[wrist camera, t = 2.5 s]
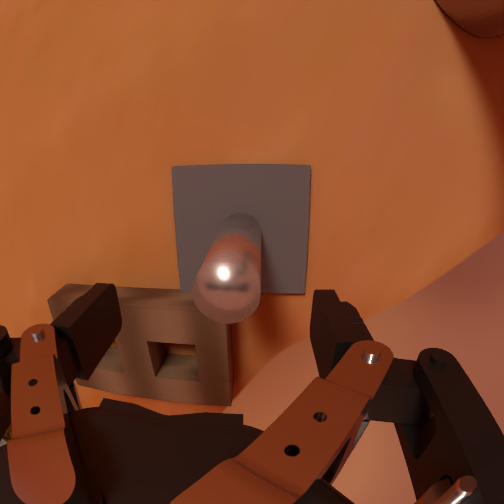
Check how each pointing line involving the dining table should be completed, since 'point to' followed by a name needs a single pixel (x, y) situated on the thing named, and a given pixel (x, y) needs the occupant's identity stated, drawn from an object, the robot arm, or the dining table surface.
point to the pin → (231, 272)
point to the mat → (250, 202)
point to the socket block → (161, 348)
